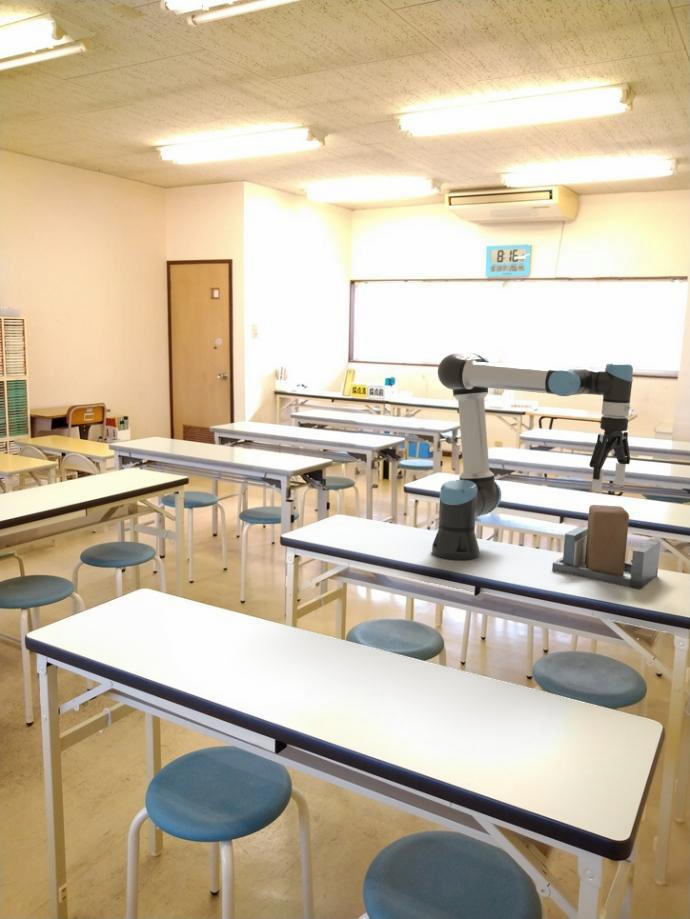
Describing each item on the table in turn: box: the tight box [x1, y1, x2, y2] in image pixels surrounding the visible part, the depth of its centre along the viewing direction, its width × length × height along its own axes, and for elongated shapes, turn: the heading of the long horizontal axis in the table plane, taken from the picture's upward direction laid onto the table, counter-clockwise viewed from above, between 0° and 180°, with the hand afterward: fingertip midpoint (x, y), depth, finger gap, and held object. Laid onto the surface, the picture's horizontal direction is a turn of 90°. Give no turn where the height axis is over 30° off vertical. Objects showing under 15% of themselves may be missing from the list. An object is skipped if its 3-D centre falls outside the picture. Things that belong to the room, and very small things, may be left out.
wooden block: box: [584, 504, 630, 576], centre depth 216 cm, size 10×10×20 cm
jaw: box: [562, 526, 588, 567], centre depth 222 cm, size 4×11×11 cm, turn 142°
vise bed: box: [551, 538, 662, 591], centre depth 217 cm, size 26×17×11 cm, turn 52°
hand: (607, 487), depth 214 cm, fingers open, 13 cm apart
